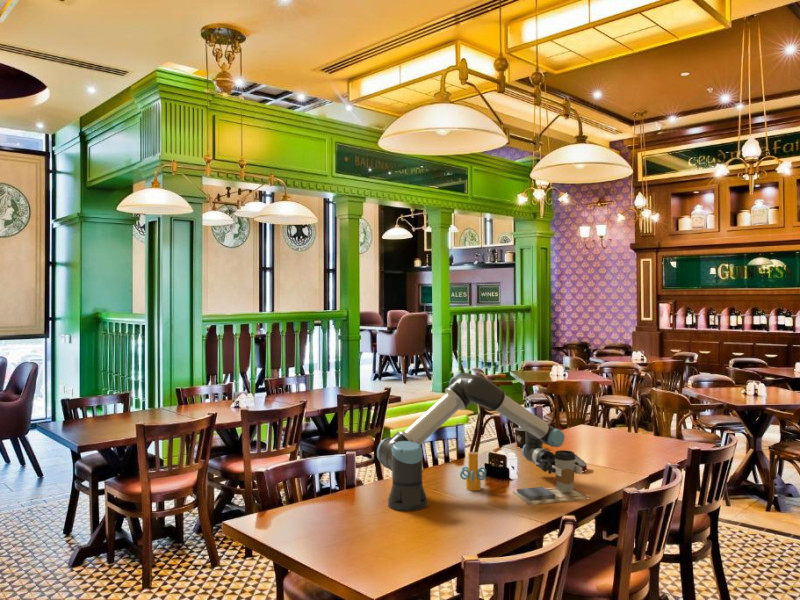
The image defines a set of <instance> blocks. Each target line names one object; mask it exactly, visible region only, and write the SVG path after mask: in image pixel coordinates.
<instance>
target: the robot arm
mask: <svg viewBox="0 0 800 600" xmlns="http://www.w3.org/2000/svg"><path fill="white" fill-rule="evenodd" d="M448 383H449V384H448V386H447V387H446V388H445V389H444V394H443V396H442V397H440V398H439V399H438V400H437V401H436V402H434V403H433V405H431V406H430V407H429V408H428V409H427V410H426V411H425V412H423V414H422V415H421V416H420V417H418V418H417V419H416V420H415V421H414V422H413V423H411V424H410V425H409V426H408V427H406V429H405V430H404V431H400V430H398V431H397V432H396V433H395V434H394V435H393V436H392V437H386V438H384V439H382V440H381V441H380V442H379V444H378V445H377V448H376V457H377V459H378V462H379V463H380V464H381V465H382V466H383V467H384V468H386V469H388V470H390V471H391V472H392V473H391V474H392V479H391V480H392V485H391V490H390V492H389V495H388V499H387V502H388V503H387V505H388V507H389V508H390V509H392V510H395V511H403V512H407V511H408V512H412V511H419V510H422V509H425V508H427V507H428V498H427V494H426V491H425V489H424V485H423V457H424V455H423V449H422V446H421V445H422V444H423V443H424V442H426V440H428V439H429V438H430V437H431V436H432V435H433V434H434V433H435V432H436V431H437V430H438V429H440V427H442V425H444V424H445V423H446V422H447V421H448V420H449V419H451V417H453V416H454V415H455V413H457V412H458V411H459V410H460V411H462V410H465V409H466V408H467V407H469V406H470V405H471V404H475V405H478V406H482V407H484V408H486V409H487V410H490V411H491V412H495V411H496V413H497V412H498V413H499V414H500V415H501V416H503V417H504V418H506V419H508V420H509V421H511V422H512V423H514V424H515V425H517V426H518V427H519V428H523V429H525V437H526V443H525V445H524V446H523V448H522V449H521V454H522V456H523V457H524V458H525V459H526V460H527V461H529V462H531V463H534V464H535V465H536V466H535V467H538V468H539V469H541V471H542V472H544V473H546V472H547V473H548V474H552V473H553V474H555V476H556V475H558V476H561V469H560V468H558V467H556V466H555V458H554V456H555V453H554V452H552V451H550V450H547V449H546V448H544V447H543V445H544V444H545V445H546V446H547V445H548V446H550V447H554V448H558V447H559V448H560V447H561V446H562V445H563V444H564V442H565V438H566V437H565V434H564V432H563V431H562V430H560V429H559V428H555V427H554V426H551V425H550V424H549V423H547V422H546V421H544V420H543V419H542V418H540V417H538V416H537V415H536V414H534V413H532V412H531V411H530V410H528V409H527V408H526V407H524V406H522V405H520V404H519V403H517V402H516V401H515V400H513V399H512V398H511V397H509V396H508V395H506V392H505V391H504V390H503V389H502V388H500V387H499V386H497V385H496V384H495V383H493V382H492V381H490V380H489V379H487V377H483V376H482V375H476V374H472V373H469V372H459V373H457V374H456V375H453V376H452V377H451V378H450V381H449V382H448ZM574 470H575V471H574V472H576V473H575V474H578V475H583V473H582V467H579V463H577V462H575V468H574Z"/></svg>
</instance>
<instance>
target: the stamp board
mask: <svg viewBox="0 0 800 600" xmlns="http://www.w3.org/2000/svg"><path fill="white" fill-rule="evenodd" d="M511 493H512V494H513V495H514V496H515V497H518V498H519V499H520V500H522V502H524V503H526V504H528V505H529V506H533V505H543V504H544V505H545V504H555V503H554V502H556V503H563V502H562V501H567V502H571V501H570V500H577V499H587V498H590V499H591V496H588V495H587V494H585V493H583V492H582V491H579V490H577V489H576V488H575V487H573V490H572V491H570V492H563V491H559V490H558V488H557V486H556V487H543V486H538V487H525V488H524V487H522V488H517V489H516V490H512V492H511ZM577 501H578V500H577Z"/></svg>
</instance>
